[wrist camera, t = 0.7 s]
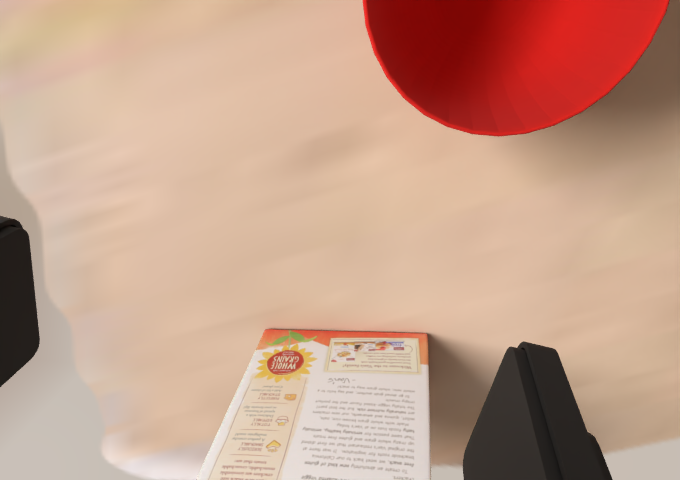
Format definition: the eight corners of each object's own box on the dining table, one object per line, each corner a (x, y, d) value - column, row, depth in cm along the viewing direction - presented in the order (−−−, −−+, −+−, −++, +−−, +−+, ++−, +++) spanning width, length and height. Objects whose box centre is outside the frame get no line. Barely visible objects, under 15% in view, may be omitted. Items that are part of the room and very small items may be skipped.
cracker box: (273, 380, 46) (170, 638, 28) (264, 325, 44) (145, 568, 25) (429, 388, 44) (432, 676, 25) (429, 331, 42) (434, 603, 23)
